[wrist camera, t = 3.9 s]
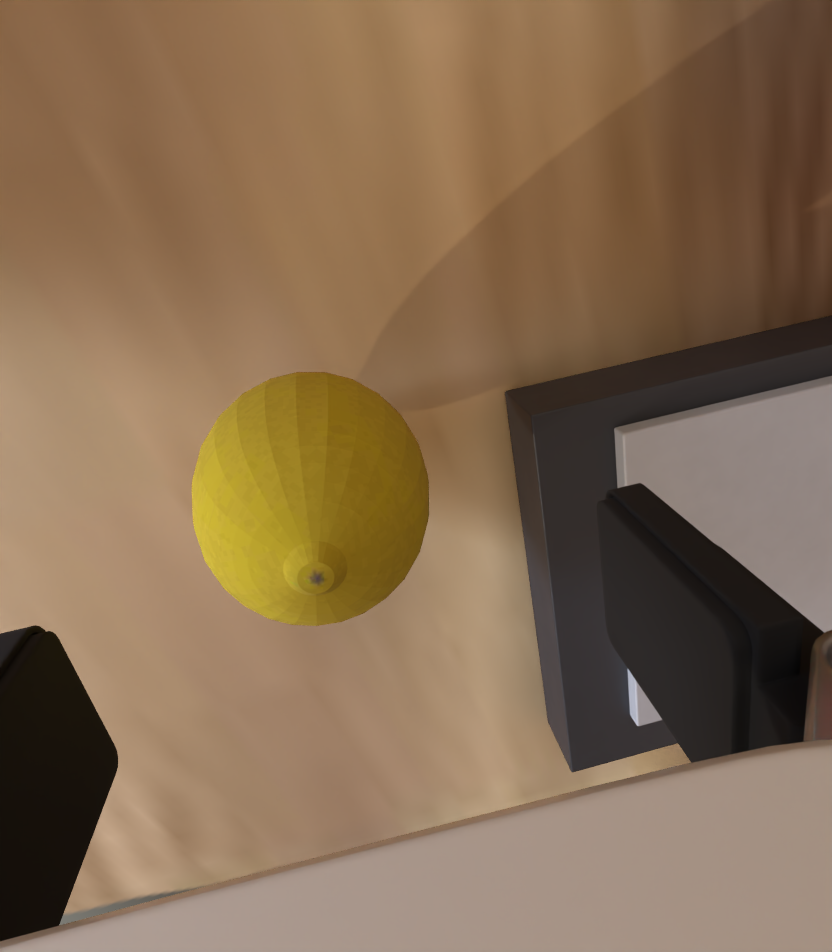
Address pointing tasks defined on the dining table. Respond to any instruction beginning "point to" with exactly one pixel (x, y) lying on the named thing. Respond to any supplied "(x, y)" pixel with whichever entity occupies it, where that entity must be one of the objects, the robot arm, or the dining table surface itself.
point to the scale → (670, 501)
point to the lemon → (310, 499)
